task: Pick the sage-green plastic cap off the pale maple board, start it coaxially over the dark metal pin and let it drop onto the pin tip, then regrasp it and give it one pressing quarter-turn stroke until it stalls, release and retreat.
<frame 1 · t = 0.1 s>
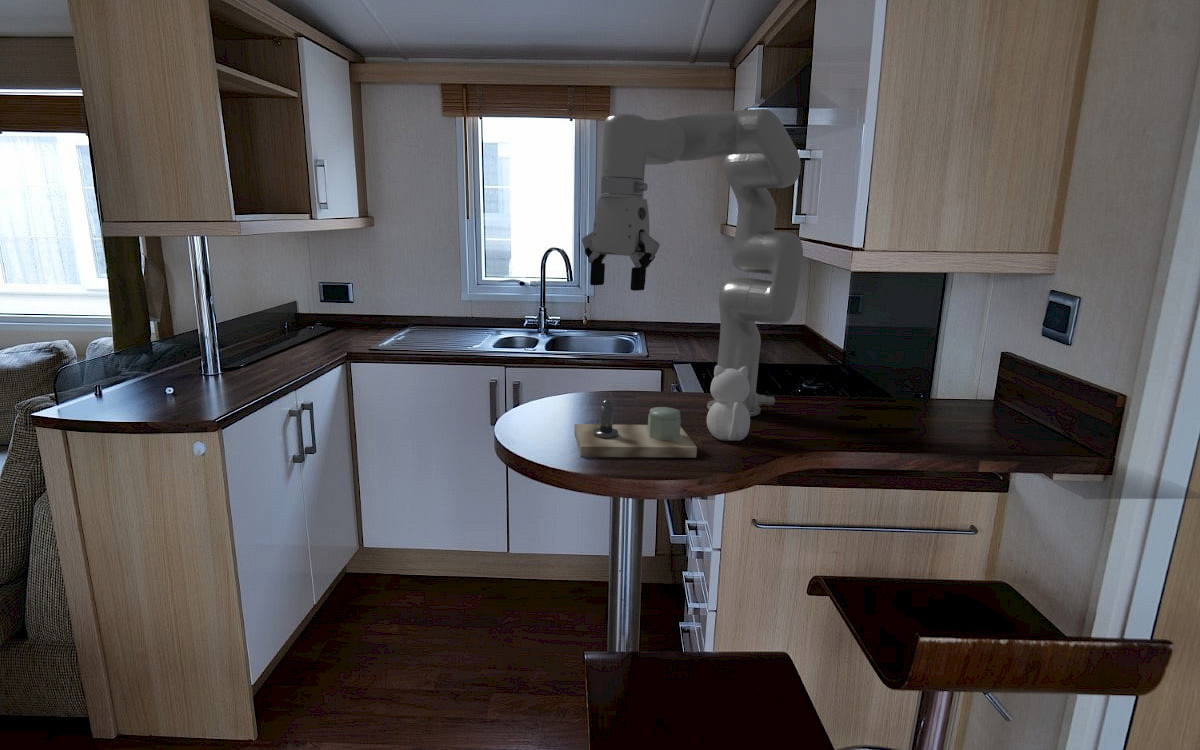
hand: (616, 287, 120), 31 cm above the countertop, tool pointing down, fingers open, 9 cm apart
board: (632, 444, 131), on the countertop
cat figurine: (727, 438, 138), on the countertop
cap: (663, 435, 131), point 2 cm above the countertop, touching board
pin: (605, 444, 130), resting on board
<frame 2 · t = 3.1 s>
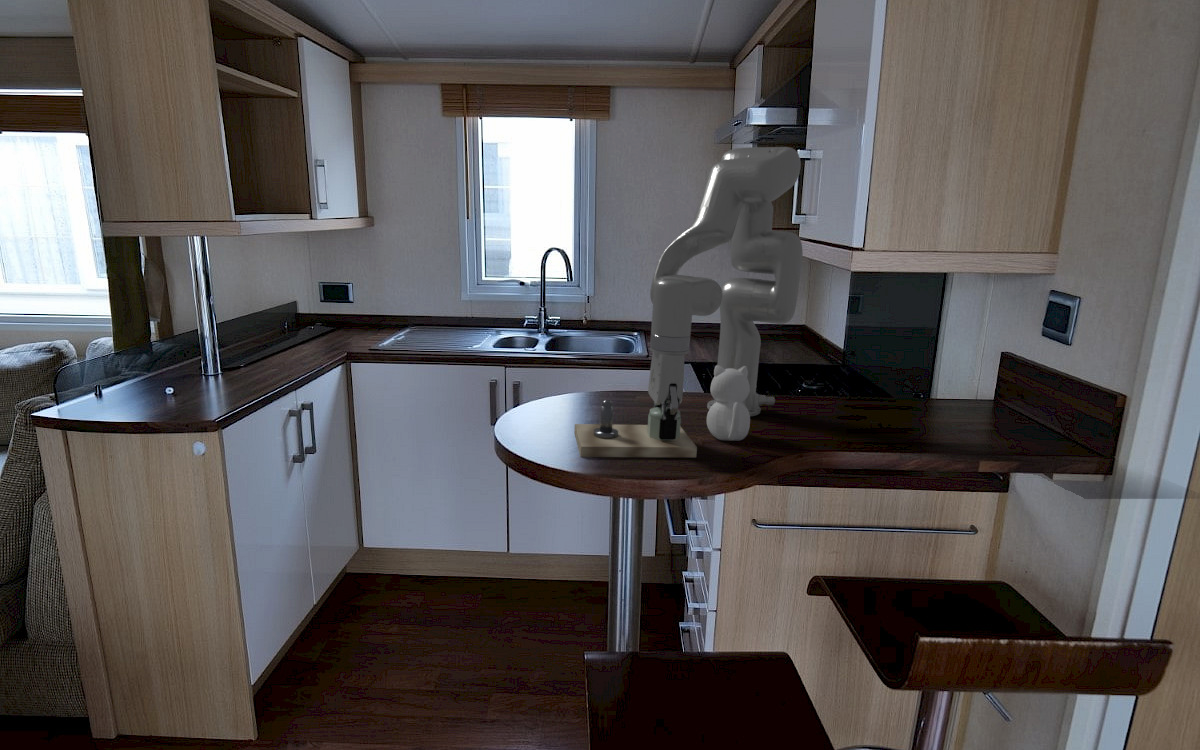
hand: (663, 432, 131), 3 cm above the countertop, tool pointing down, fingers closed on cap, 6 cm apart
cap: (663, 435, 131), point 2 cm above the countertop, touching board, gripper
everything else where it was.
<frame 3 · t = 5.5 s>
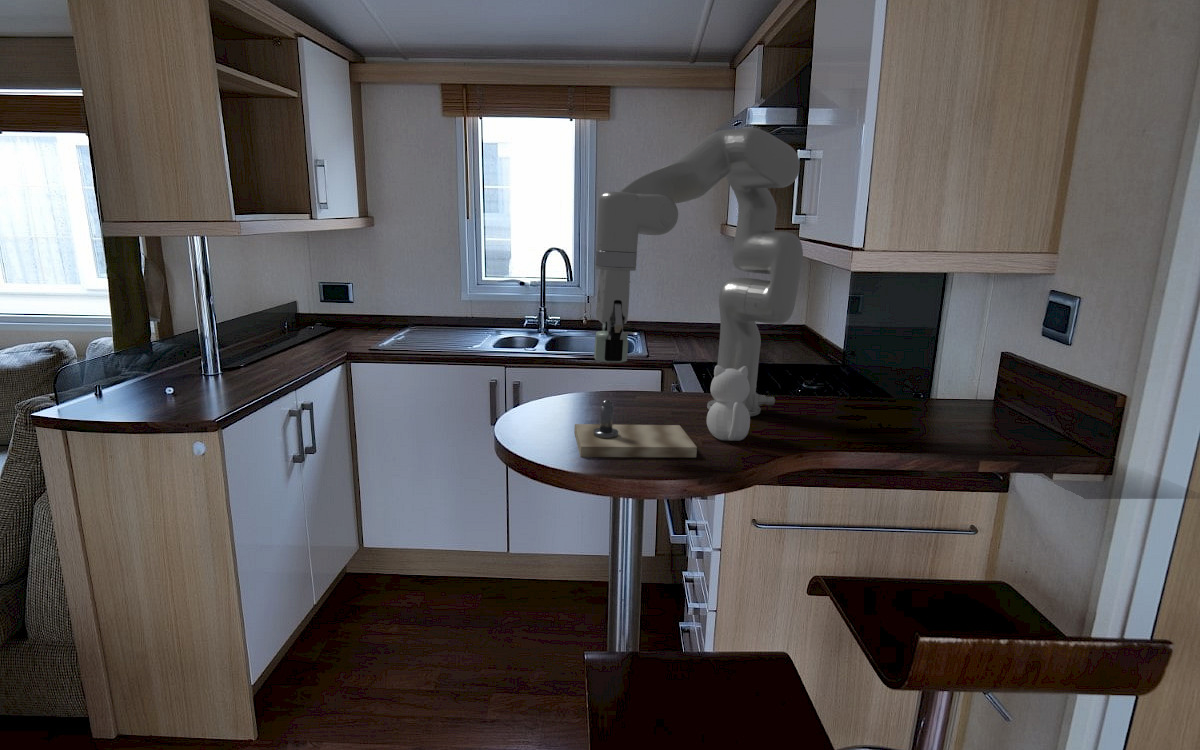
hand: (610, 356, 126), 18 cm above the countertop, tool pointing down, fingers closed on cap, 6 cm apart
cap: (610, 359, 126), point 17 cm above the countertop, touching gripper
everything else where it was.
when the fingers open (8 cm above the countertop, at t = 8.3 s): cap drops 2 cm, resting on pin.
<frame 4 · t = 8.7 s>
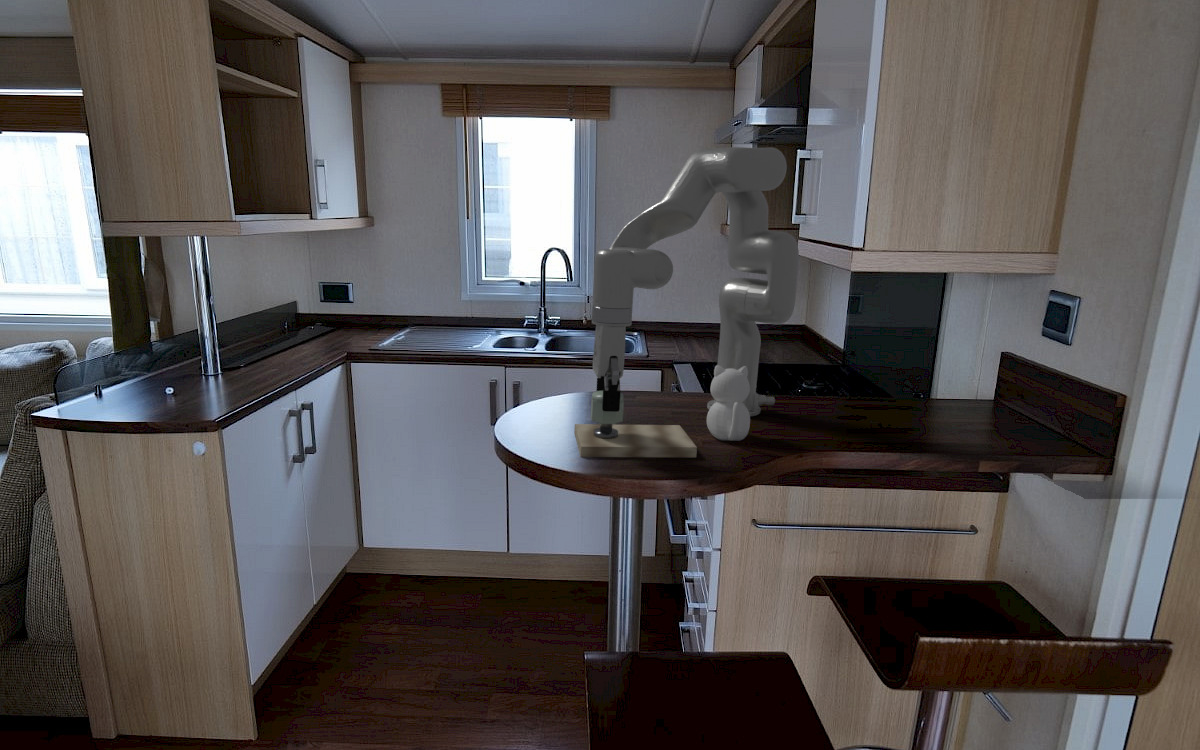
hand: (607, 404, 128), 8 cm above the countertop, tool pointing down, fingers open, 9 cm apart
cap: (606, 419, 129), point 5 cm above the countertop, touching pin
everything else where it was.
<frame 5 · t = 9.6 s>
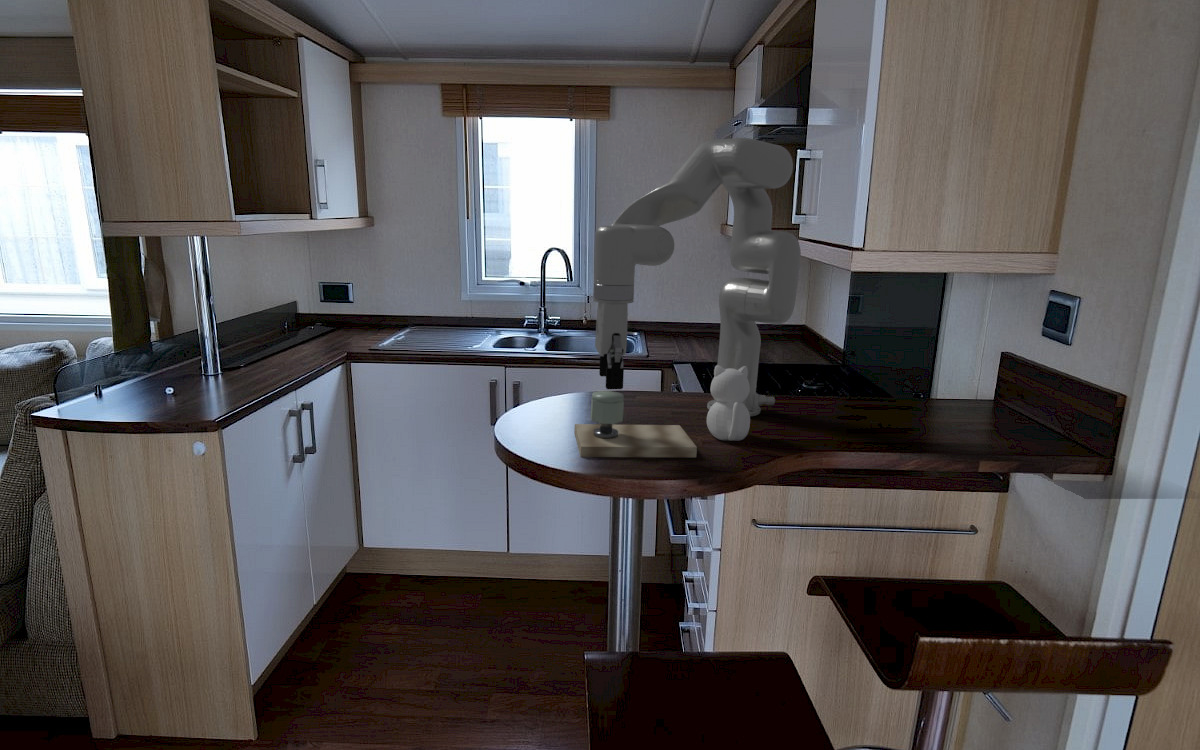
hand: (610, 382, 128), 13 cm above the countertop, tool pointing down, fingers open, 9 cm apart
nothing on the countertop moved.
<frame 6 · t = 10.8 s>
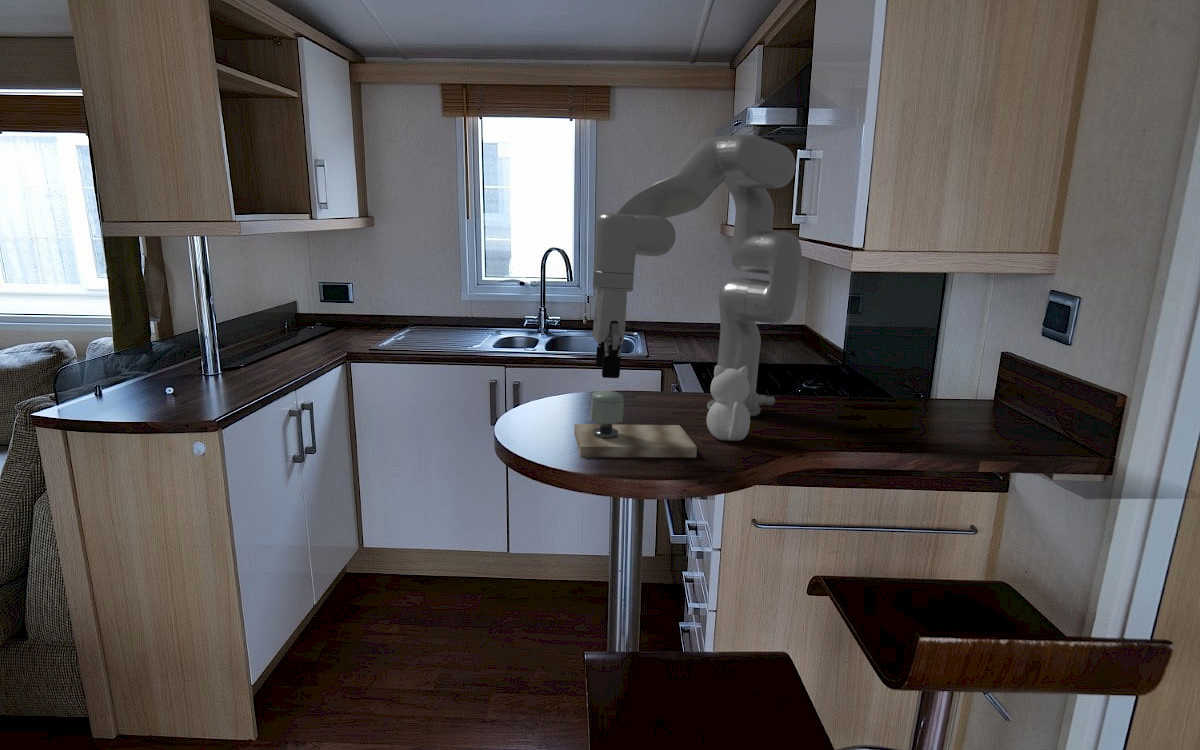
hand: (607, 372, 126), 15 cm above the countertop, tool pointing down, fingers open, 9 cm apart
nothing on the countertop moved.
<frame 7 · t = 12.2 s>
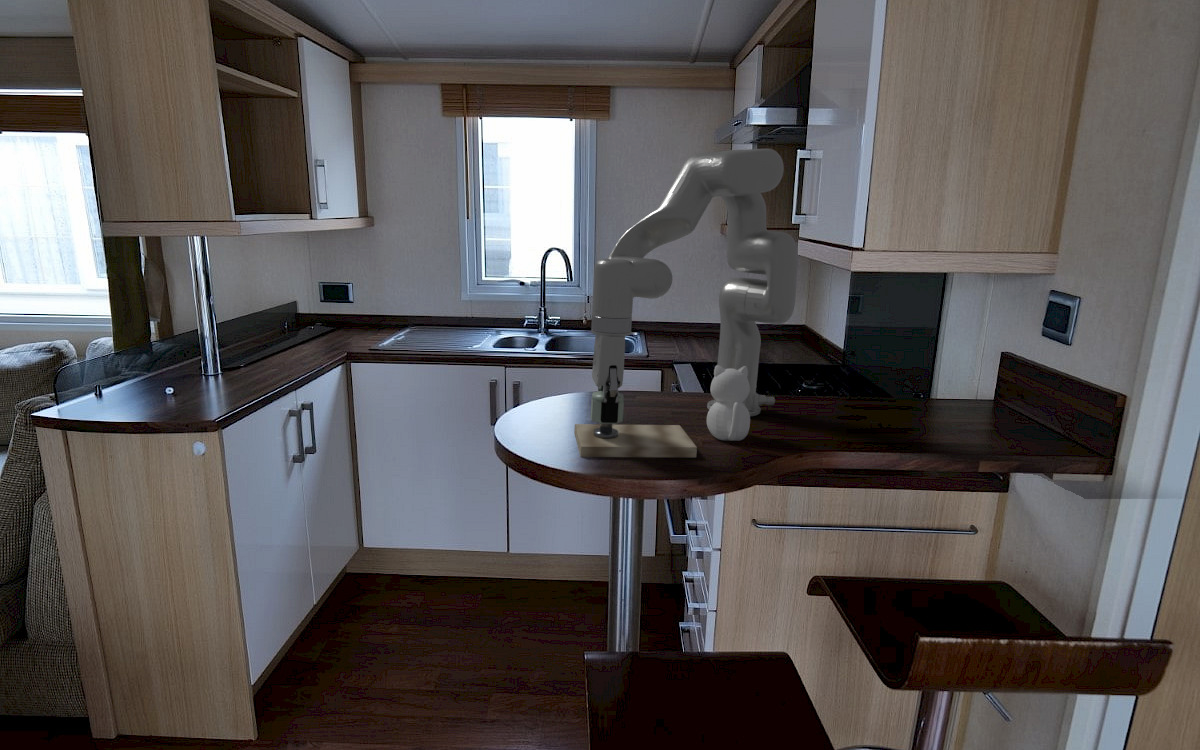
hand: (606, 416, 129), 6 cm above the countertop, tool pointing down, fingers closed on cap, 6 cm apart
cap: (606, 419, 129), point 5 cm above the countertop, touching gripper, pin
everything else where it was.
when the fingers open (6 cm above the countertop, at t = 13.3 s): cap stays where it is, resting on pin.
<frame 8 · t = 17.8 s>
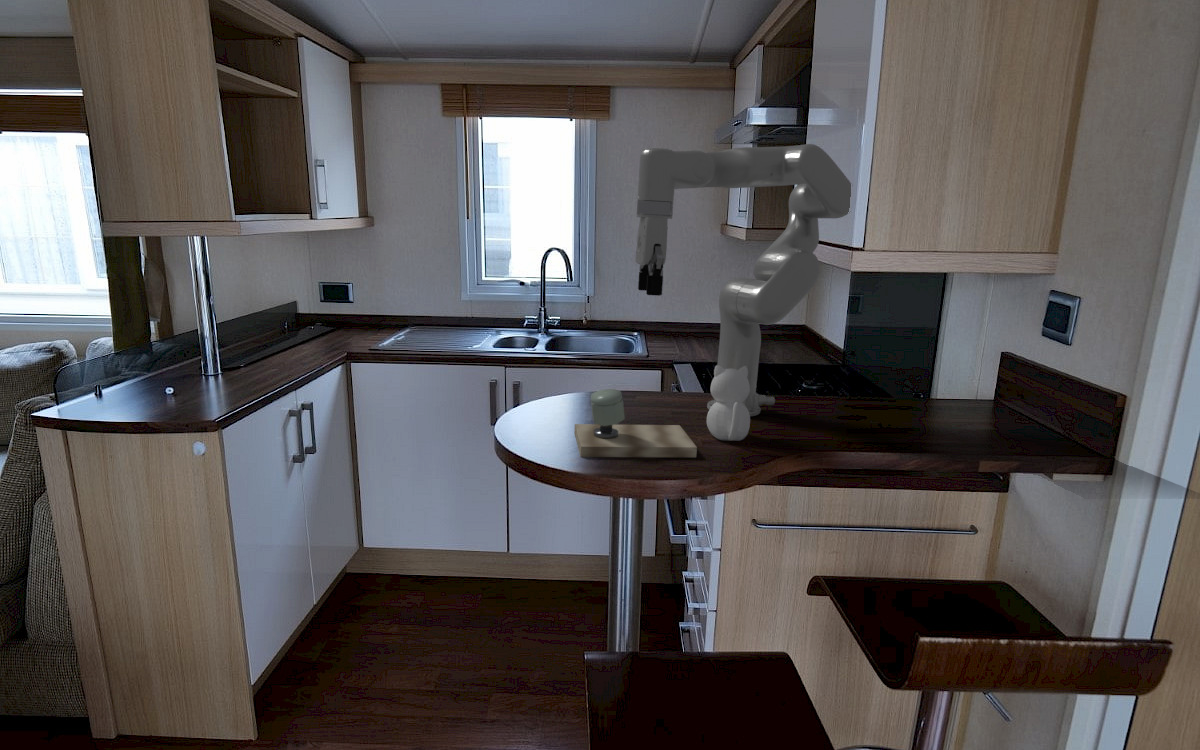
hand: (649, 292, 143), 28 cm above the countertop, tool pointing down, fingers open, 9 cm apart
cap: (608, 418, 129), point 5 cm above the countertop, tilted 12°, touching pin
everything else where it was.
at the end: cap 0.0 cm off-centre on the pin, point 5.2 cm above the pin's base; cap tilted 3°; the gripper is holding nothing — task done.
